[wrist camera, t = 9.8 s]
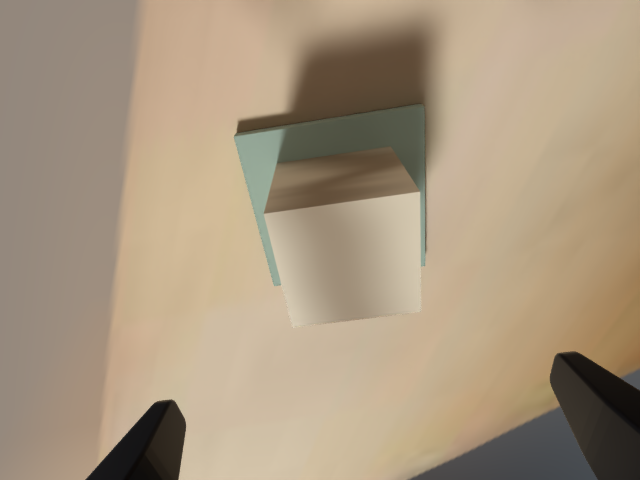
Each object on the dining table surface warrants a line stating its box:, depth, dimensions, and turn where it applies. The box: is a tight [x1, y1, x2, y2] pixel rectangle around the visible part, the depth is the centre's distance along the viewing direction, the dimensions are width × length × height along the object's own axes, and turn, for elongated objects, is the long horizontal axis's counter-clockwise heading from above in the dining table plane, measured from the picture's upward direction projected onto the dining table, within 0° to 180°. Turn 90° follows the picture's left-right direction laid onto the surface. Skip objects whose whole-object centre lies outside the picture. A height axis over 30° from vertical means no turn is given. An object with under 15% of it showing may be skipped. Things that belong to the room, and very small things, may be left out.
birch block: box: [264, 146, 421, 328], centre depth 15 cm, size 5×5×5 cm
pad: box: [234, 104, 425, 286], centre depth 17 cm, size 8×8×1 cm
